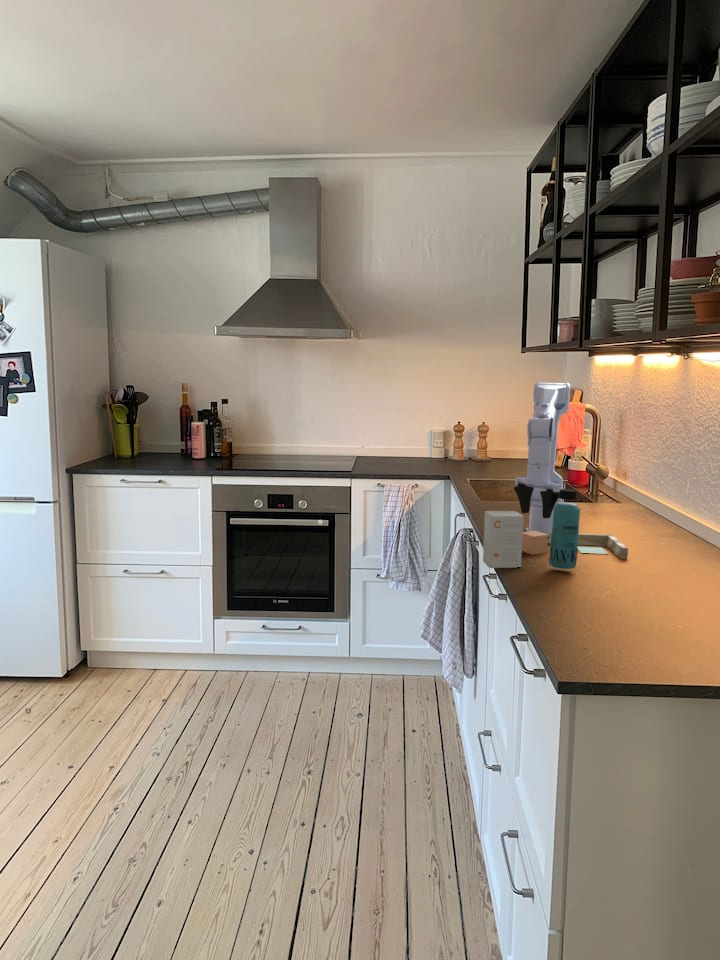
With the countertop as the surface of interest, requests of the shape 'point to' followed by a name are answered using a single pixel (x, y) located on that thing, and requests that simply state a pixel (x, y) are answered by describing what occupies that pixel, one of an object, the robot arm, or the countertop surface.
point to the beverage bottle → (565, 532)
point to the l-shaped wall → (602, 543)
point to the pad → (591, 550)
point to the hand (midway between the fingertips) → (535, 515)
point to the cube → (534, 542)
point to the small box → (503, 539)
